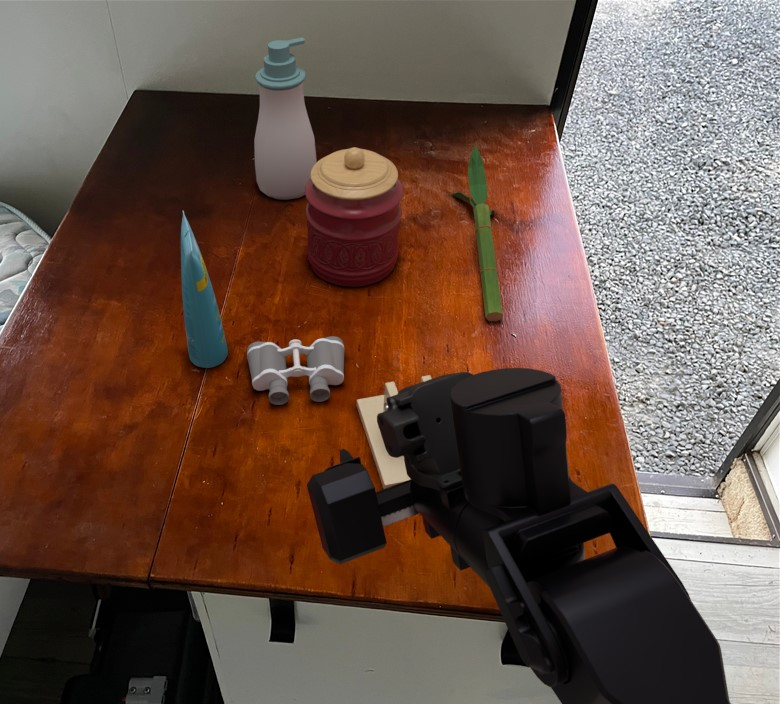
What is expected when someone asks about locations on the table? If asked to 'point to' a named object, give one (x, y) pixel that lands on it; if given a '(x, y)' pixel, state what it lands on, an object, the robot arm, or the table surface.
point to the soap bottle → (283, 125)
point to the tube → (200, 306)
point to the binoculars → (296, 367)
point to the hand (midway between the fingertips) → (394, 436)
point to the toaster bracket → (368, 409)
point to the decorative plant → (483, 236)
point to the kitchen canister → (353, 217)
